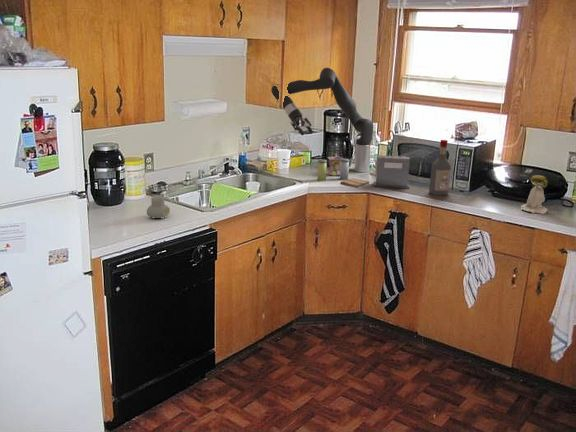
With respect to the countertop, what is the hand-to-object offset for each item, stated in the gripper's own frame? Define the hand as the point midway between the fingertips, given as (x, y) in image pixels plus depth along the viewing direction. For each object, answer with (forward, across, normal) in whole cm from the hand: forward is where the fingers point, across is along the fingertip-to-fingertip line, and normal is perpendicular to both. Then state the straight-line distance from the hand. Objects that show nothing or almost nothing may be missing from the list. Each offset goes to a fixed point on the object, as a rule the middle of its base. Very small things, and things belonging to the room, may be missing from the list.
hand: (307, 133), depth 356 cm
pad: (+40, -7, +3) cm, 41 cm away
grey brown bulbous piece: (+17, +112, -21) cm, 115 cm away
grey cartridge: (+32, -12, -5) cm, 35 cm away
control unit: (+53, -18, +16) cm, 58 cm away
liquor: (+73, -22, +35) cm, 84 cm away
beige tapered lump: (+109, -26, +72) cm, 133 cm away
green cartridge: (+27, 0, -10) cm, 29 cm away
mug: (+25, -16, -13) cm, 32 cm away
